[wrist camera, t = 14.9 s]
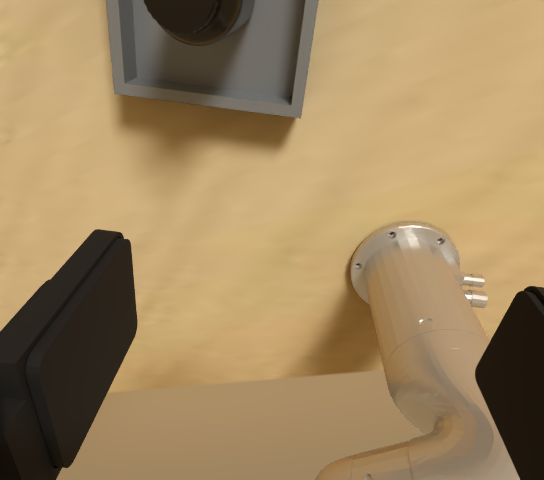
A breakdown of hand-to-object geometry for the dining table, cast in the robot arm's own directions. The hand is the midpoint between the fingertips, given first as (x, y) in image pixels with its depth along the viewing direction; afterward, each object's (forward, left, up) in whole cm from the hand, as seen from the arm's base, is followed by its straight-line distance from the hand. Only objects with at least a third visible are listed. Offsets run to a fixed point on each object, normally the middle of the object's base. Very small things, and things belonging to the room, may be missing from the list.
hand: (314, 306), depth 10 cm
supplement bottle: (+9, -6, -33) cm, 34 cm away
